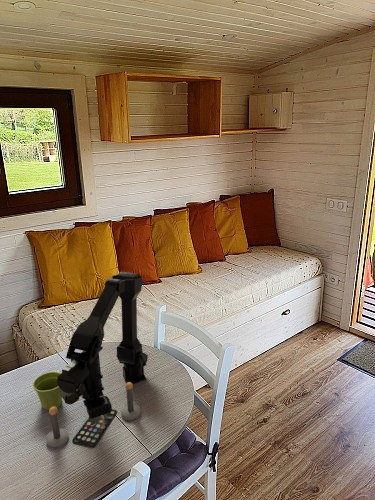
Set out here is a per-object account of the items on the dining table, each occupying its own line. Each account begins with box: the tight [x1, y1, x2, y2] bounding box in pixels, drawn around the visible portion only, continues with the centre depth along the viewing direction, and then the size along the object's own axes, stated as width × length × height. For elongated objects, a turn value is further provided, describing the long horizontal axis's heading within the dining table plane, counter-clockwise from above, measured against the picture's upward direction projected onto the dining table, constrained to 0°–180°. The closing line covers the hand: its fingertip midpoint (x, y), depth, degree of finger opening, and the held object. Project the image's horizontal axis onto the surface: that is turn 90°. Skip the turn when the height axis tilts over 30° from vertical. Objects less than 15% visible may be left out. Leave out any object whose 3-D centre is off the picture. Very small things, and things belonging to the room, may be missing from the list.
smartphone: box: [72, 408, 118, 449], centre depth 113 cm, size 7×1×15 cm
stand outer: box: [45, 407, 69, 449], centre depth 106 cm, size 6×6×11 cm
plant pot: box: [32, 371, 63, 411], centre depth 120 cm, size 9×9×9 cm
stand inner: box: [120, 382, 142, 421], centre depth 116 cm, size 6×6×11 cm
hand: (94, 414), depth 112 cm, fingers closed
